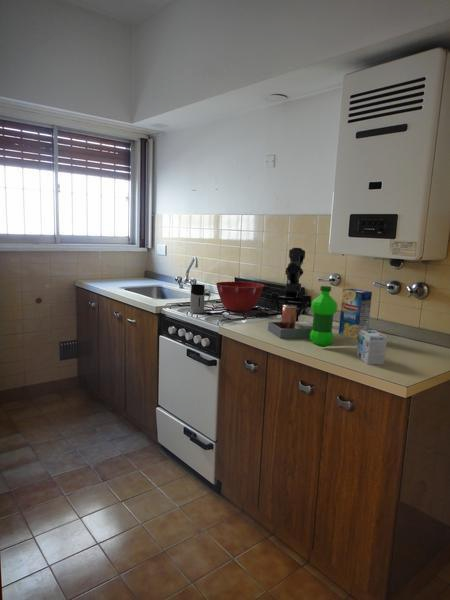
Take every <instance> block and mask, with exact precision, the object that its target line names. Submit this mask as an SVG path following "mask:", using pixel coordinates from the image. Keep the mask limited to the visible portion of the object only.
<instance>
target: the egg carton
mask: <svg viewBox="0 0 450 600" xmlns="http://www.w3.org/2000/svg"><path fill="white" fill-rule="evenodd" d="M309 322H310V321H299V322H296V323H295V329H307V328H313V323H312V322H310V323H309ZM311 323H312V324H311Z"/></svg>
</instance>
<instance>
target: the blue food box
mask: <svg viewBox="0 0 450 600" xmlns="http://www.w3.org/2000/svg"><path fill="white" fill-rule="evenodd" d="M341 293H342V296H341V303H340V304H341V305H340V314H339V315H340V317H339V328H338V335H341V336H345V337H349V338H351V339H354V340H357V341H358V337H359V330H369V325H370V318H371V317H370V315H371V306H372V298H373V291H369V290H363V289H358V288H357V289H356V288H342V292H341Z"/></svg>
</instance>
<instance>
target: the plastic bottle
mask: <svg viewBox="0 0 450 600" xmlns="http://www.w3.org/2000/svg"><path fill="white" fill-rule="evenodd" d="M319 291H320V292H321V294H319V295H317V296H316V297H315V298H313V300H311V307H310V308H311V311H312V312H313V319H312V324H313V329H312V331H311V332H310V338H309V339H310V341H311V343H312V344H315V345H317V346H318V347H321V348H323V347H324V348H326V347H327V346H328V345H330V344H331V343H332V342H333V341H334V337H335V336H334V333H333V322H334V321H333V320H334V314H335V313H336V312H337V310H338V303H337V302H336V300H335V299H334V298H333V297H332V296H331V295H330V293H331V291H332V286H330V285H329V286H328V285H321V286H320V289H319Z"/></svg>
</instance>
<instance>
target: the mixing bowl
mask: <svg viewBox="0 0 450 600" xmlns="http://www.w3.org/2000/svg"><path fill="white" fill-rule="evenodd" d="M215 285H216V290H217V293H218V296H219V299H220V301H221V302H220V303H221V304H222V305H223V307H224V308H225V309H227V310H229V311H231V312H250V311H251V310H252V309H254V308H255V307H256V305H257V304H258V302H259V300H260V299H261V295H262V293H263V289H264V287H265V285H264V284H262V283H257V282H250V281H249V282H248V281H220V282H219V281H218V282H216V283H215Z"/></svg>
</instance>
